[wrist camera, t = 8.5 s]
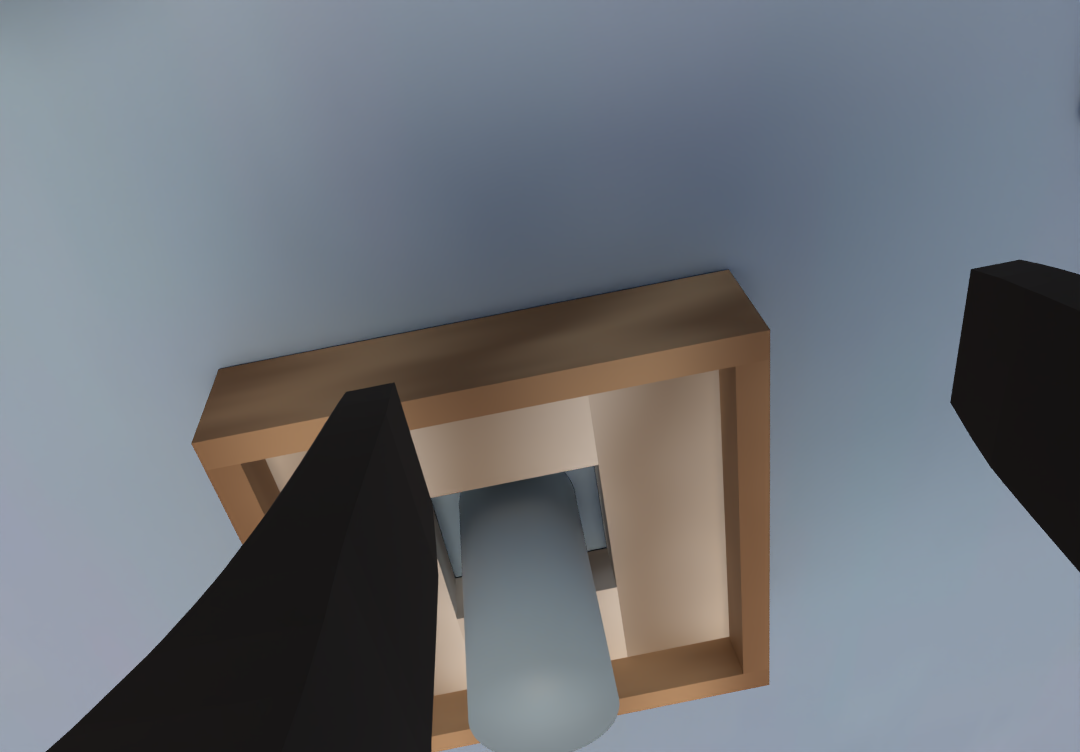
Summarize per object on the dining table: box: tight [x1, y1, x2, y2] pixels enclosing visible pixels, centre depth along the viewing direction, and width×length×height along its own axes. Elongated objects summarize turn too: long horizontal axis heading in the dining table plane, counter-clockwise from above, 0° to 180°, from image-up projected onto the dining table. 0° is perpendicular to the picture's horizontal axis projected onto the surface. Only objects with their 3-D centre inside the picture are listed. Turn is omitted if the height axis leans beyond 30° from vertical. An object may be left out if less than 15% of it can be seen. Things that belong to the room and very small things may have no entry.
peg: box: [459, 472, 619, 752], centre depth 22 cm, size 3×3×7 cm
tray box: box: [191, 270, 770, 752], centre depth 23 cm, size 13×13×3 cm
